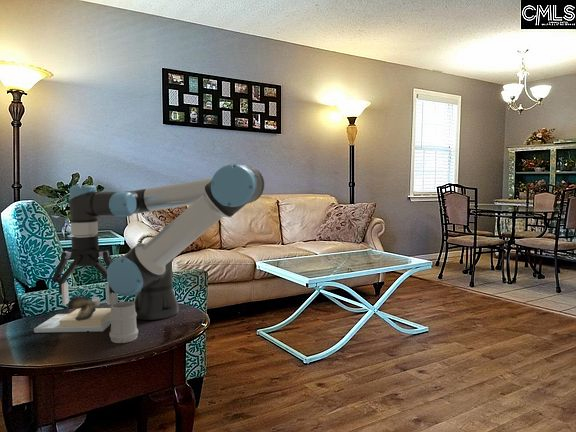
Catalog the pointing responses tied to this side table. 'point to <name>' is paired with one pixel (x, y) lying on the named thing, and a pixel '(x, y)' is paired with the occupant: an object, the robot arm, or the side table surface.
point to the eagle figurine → (84, 306)
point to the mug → (122, 321)
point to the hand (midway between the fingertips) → (87, 303)
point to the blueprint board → (82, 329)
